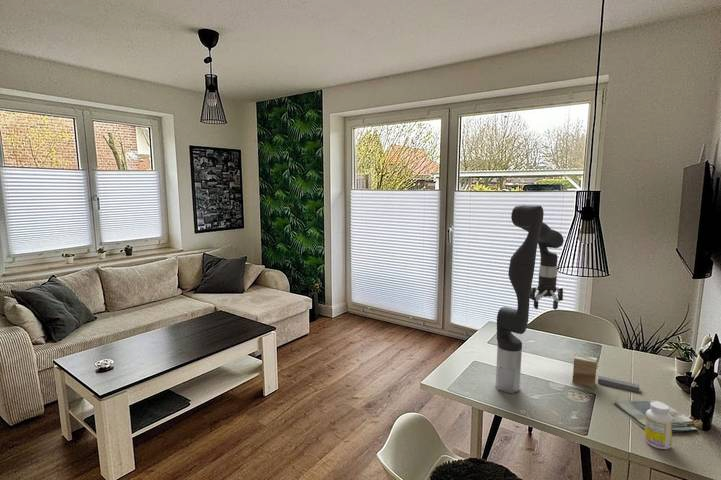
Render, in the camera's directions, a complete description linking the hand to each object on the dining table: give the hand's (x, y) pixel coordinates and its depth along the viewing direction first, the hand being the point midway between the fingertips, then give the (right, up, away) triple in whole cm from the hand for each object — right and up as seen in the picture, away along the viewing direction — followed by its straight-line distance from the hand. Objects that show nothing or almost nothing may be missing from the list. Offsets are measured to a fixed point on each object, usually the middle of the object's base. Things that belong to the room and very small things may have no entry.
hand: (545, 308), depth 180 cm
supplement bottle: (+8, -33, -58) cm, 67 cm away
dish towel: (+17, -32, -44) cm, 57 cm away
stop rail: (+19, -28, -22) cm, 40 cm away
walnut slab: (+7, -28, -19) cm, 34 cm away
